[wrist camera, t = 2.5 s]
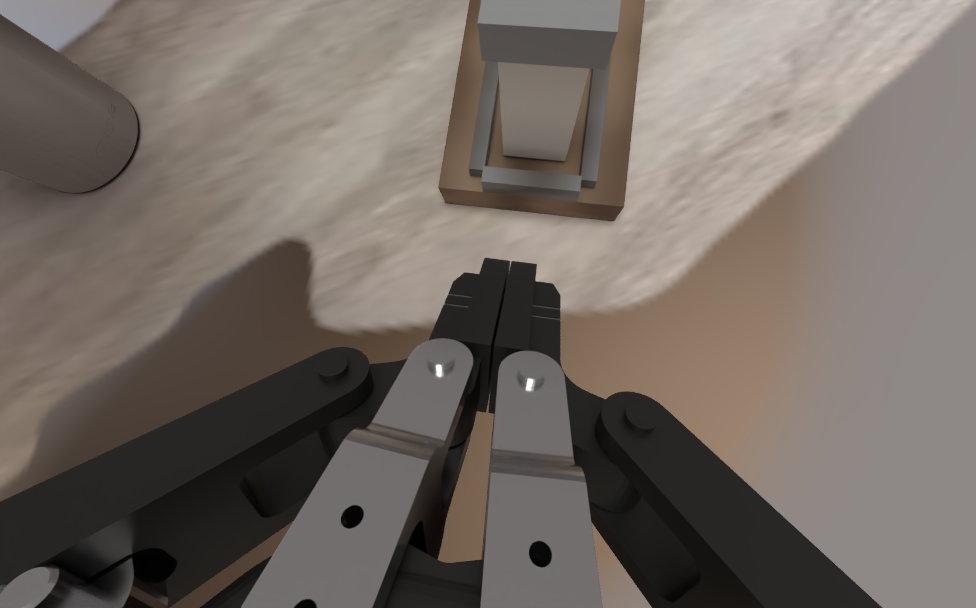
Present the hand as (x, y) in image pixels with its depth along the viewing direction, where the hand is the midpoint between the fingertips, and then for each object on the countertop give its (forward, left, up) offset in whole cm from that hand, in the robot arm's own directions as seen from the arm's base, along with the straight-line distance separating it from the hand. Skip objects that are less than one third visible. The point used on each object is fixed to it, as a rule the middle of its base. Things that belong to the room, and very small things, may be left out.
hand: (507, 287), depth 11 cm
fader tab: (0, +12, -12) cm, 17 cm away
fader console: (0, +20, -14) cm, 25 cm away
